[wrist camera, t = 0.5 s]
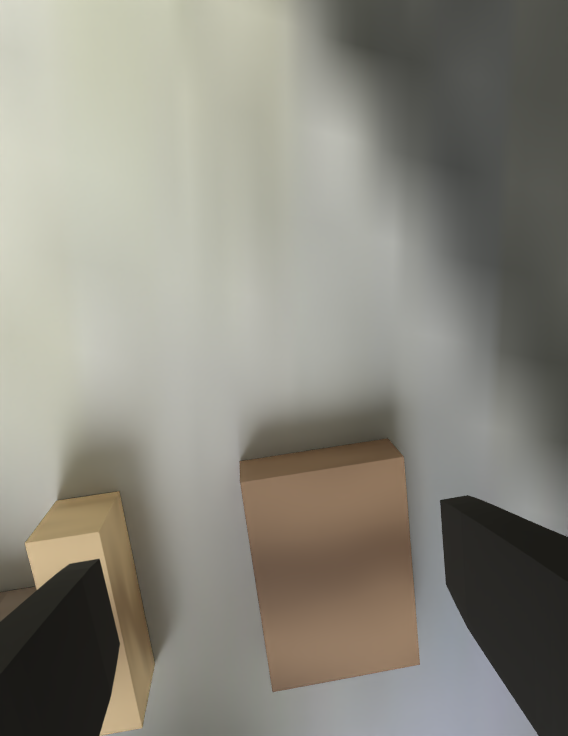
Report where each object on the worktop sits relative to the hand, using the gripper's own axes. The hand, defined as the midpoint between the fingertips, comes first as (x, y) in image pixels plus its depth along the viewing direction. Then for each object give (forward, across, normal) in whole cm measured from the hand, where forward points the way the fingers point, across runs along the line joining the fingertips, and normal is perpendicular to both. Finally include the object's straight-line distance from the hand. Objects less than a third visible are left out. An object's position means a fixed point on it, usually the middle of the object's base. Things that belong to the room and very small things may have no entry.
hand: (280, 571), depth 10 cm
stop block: (+9, +7, +6) cm, 13 cm away
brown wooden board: (+10, -2, +6) cm, 12 cm away
